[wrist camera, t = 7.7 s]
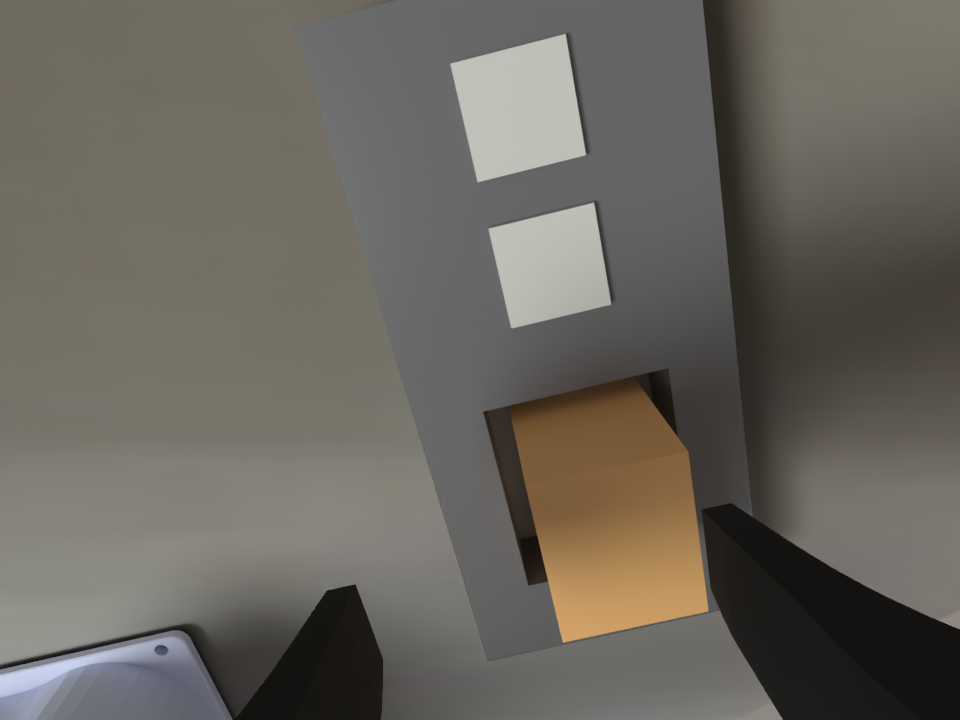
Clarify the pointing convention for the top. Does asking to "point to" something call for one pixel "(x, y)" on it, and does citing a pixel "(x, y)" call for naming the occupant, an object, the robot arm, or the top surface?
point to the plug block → (610, 508)
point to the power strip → (536, 246)
